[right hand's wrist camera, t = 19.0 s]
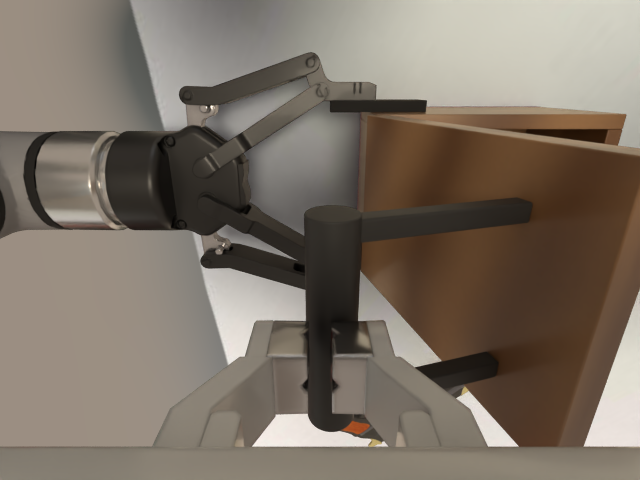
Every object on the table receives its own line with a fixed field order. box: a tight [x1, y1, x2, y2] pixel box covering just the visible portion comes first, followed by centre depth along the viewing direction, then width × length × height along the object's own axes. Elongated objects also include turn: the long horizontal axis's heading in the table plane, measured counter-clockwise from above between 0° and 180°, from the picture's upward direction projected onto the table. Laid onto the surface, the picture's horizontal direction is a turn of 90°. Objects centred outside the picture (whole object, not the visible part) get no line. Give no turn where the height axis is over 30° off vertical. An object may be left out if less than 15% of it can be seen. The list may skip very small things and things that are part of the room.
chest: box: [357, 107, 626, 212], centre depth 30 cm, size 15×10×11 cm
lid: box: [304, 115, 640, 447], centre depth 17 cm, size 16×10×8 cm
